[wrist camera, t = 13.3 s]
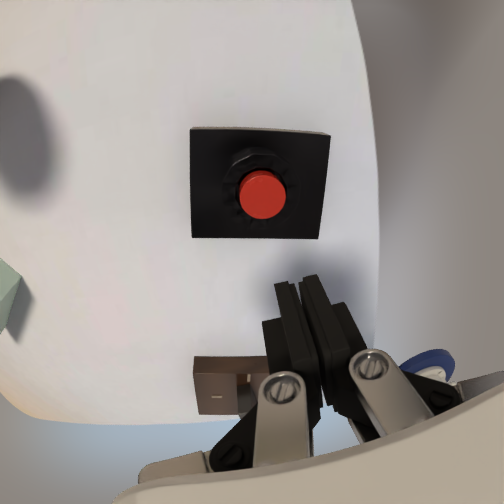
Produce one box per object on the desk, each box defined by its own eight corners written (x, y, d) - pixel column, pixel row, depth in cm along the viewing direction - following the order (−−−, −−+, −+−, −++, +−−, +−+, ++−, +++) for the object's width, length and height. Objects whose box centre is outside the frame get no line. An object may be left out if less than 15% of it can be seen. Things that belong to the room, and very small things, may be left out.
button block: (323, 132, 27) (338, 138, 23) (312, 230, 32) (323, 248, 28) (192, 126, 26) (186, 131, 22) (193, 228, 31) (189, 247, 27)
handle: (236, 385, 38) (238, 415, 34) (249, 383, 38) (252, 413, 34) (245, 407, 40) (247, 434, 36) (257, 405, 40) (261, 432, 36)
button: (283, 171, 25) (287, 176, 23) (280, 212, 27) (283, 219, 25) (239, 169, 25) (240, 174, 23) (238, 211, 26) (239, 218, 25)
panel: (299, 354, 40) (304, 371, 37) (290, 396, 45) (293, 412, 42) (194, 356, 39) (192, 374, 36) (199, 398, 43) (198, 415, 41)
